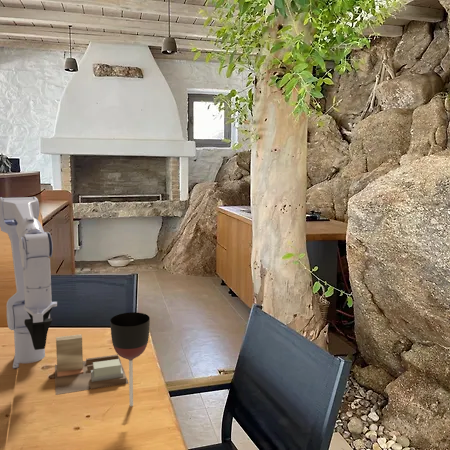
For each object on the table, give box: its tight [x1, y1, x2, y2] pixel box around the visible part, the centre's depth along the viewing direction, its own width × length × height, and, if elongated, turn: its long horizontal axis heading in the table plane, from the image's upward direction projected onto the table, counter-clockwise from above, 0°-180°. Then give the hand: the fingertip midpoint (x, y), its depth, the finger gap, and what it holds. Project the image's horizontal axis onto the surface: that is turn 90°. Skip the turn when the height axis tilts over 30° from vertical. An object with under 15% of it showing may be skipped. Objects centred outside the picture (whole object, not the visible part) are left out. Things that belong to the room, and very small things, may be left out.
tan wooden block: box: [55, 334, 84, 372], centre depth 112 cm, size 2×6×8 cm, turn 111°
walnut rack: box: [54, 354, 129, 396], centre depth 110 cm, size 16×16×2 cm
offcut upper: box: [93, 359, 121, 377], centre depth 107 cm, size 4×6×2 cm, turn 111°
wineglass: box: [109, 311, 151, 407], centre depth 95 cm, size 8×9×20 cm
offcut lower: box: [91, 368, 123, 382], centre depth 107 cm, size 4×7×2 cm, turn 111°
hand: (40, 342), depth 105 cm, fingers open, 7 cm apart
